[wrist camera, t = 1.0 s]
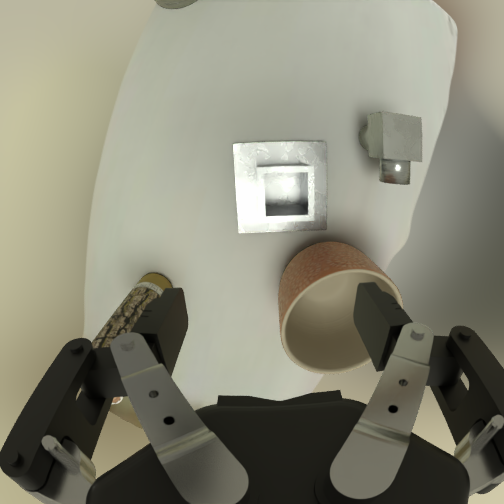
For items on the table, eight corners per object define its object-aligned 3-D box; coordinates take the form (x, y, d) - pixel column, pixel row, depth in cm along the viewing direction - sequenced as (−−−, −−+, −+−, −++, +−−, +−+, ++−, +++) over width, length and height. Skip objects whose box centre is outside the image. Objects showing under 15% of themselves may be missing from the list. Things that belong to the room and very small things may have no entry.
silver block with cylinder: (353, 119, 38) (382, 111, 28) (386, 122, 38) (421, 117, 28) (354, 174, 41) (383, 183, 31) (387, 176, 41) (421, 185, 31)
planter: (338, 328, 52) (358, 383, 37) (258, 300, 50) (258, 357, 35) (383, 254, 46) (425, 294, 32) (301, 214, 44) (321, 246, 30)
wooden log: (138, 270, 48) (65, 358, 25) (172, 272, 48) (113, 371, 25) (142, 302, 50) (84, 396, 27) (175, 305, 50) (129, 408, 27)
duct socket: (233, 143, 40) (228, 142, 33) (324, 141, 40) (338, 140, 32) (239, 231, 45) (235, 248, 38) (324, 228, 45) (337, 244, 37)
